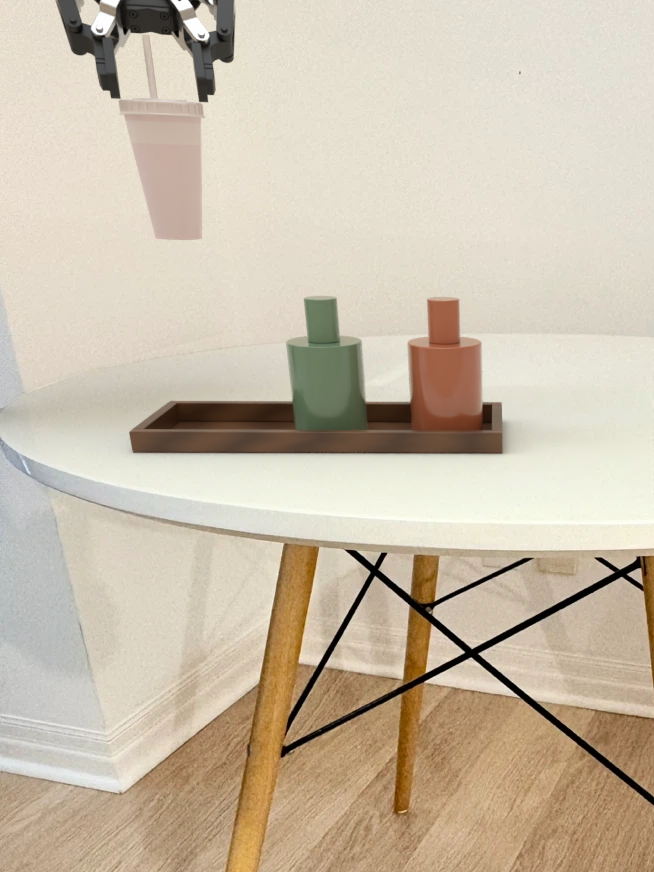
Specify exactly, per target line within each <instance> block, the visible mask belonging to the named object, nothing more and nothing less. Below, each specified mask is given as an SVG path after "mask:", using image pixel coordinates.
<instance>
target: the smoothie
mask: <svg viewBox="0 0 654 872" xmlns="http://www.w3.org/2000/svg"><path fill="white" fill-rule="evenodd" d="M150 37H151V36H150V35H149V34H141V41H142V47H143V48H142V49H143V54H144V62H145V63H144V64H145V70H146V76H147V78H146V79H147V85H148V91H149V98H147V97H145V98H141V97H138V98H136V97H135V98H132V99H129V98H128V99H126V98H125V99H118V109H119V113H118V114H119V115H120V116H124V117H123V118H124V121H125V124H126V129H127V132H128V133H127V134H128V137H129V140H130V144H131V148H132V152H133V156H134V160H135V163H136V167H137V171H138V175H139V179H140V183H141V187H142V190H143V193H144V198H145V202H146V206H147V210H148V214H149V218H150V222H151V227H152V230H153V234H154V237H155V239H159V240H169V241H170V240H171V241H194V240H202V239H203V193H202V192H203V189H202V187H203V184H202V183H203V181H202V180H203V179H202V178H203V177H202V174H203V173H202V167H203V166H202V119H206V116H205V114H204V105H203V103H202V102H191V101H187V100H184V99H168V98H167V99H166V98H165V99H164V98H158V89H157V82H156V75H155V67H154V59H153V53H152V46H151V45H152V44H151V38H150Z"/></svg>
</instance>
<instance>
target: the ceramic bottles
mask: <svg viewBox="0 0 654 872" xmlns="http://www.w3.org/2000/svg"><path fill="white" fill-rule="evenodd" d="M460 303H461V302H460V298H458V297H452V296H433V297H427V298H426V311H427V312H426V313H427V334H428V335H427V336H421V337H416V338H412V339H409V340H408V341H407V342H406V348H407V349H406V350H407V368H408V369H407V370H408V387H409V388H408V389H409V402H410V410H411V430H483V402H484V400H483V399H484V397H483V395H484V393H483V392H484V391H483V389H484V388H483V343H482V342H483V341H481V340H480V339H478V338H474V337H469V336H468V337H467V336H461V310H460V306H461V305H460ZM303 306H304V316H305V326H306V335H305V336H297V337H293V338H289V339H287V340H286V341H285V346H286V356H287V367H288V375H289V385H290V394H291V401H292V404H293V414H294V423H295V430H368V419H367V405H366V402H367V393H366V377H365V366H364V365H365V364H364V349H363V341H362V339H361V338H358V337H356V336H349V335H341V332H340V320H339V319H340V318H339V307H338V306H339V305H338V298H337V297H336V296H333V295H309V296H305V297H303Z"/></svg>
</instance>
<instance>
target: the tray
mask: <svg viewBox="0 0 654 872" xmlns="http://www.w3.org/2000/svg"><path fill="white" fill-rule="evenodd" d="M366 405H367V419H368V430H295V423H294V414H293V404H292V400H290V401H289V400H169V401H168V402H167V403H165V404H164V405H163V406H161V407H160V408H159V409H157V410H156V411H155V412H153V413H152V414H151V415H149V416H148V417H147V418H145V419H143V420H142V421H141V422H139V423H138V424H137V425H135V426H134V427H133V428H131V429H130V430H129V432H128V434H129V439H130V445H131V450H132V454H363V455H364V454H366V455H367V454H369V455H371V454H373V455H375V454H379V455H380V454H386V455H387V454H389V455H390V454H398V455H399V454H400V455H401V454H402V455H403V454H404V455H405V454H406V455H407V454H408V455H409V454H410V455H411V454H412V455H413V454H414V455H415V454H418V455H419V454H420V455H422V454H424V455H428V454H429V455H431V454H432V455H434V454H435V455H436V454H437V455H447V454H448V455H503V403H502V401H483V430H411V410H410V401H366Z"/></svg>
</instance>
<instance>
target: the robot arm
mask: <svg viewBox="0 0 654 872" xmlns="http://www.w3.org/2000/svg"><path fill="white" fill-rule="evenodd" d="M93 1H94V2H95V3H96V4H97V5H98V6H99V8H98V9H99V10H98V13H97V14H96V16H95V18H94V20H93V21H92V24H88V23H84V22H83V21H82V17H81V15H80V13H81V12H82V8H83V6H84V5H85V0H55V4H56V7H57V11H58V14H59V16H60V20H61V23H62V25H63V29H64V32H65V35H66V39H67V41H68V45H69V47H70V50H71V52H72V54H74V55H76V56H86V55H87V54H90V55H91V56H93V57H94V62H95V70H96V75H97V81H98V83H99V87H100V88H101V90H102V91H103V92H109V96H110V99H114V100H122V99H121V89H120V82H119V74H118V66H117V65H118V64H117V59H116V55H117V54H118V53H117V52H118V51H119V49H120V48H124V47H125V45H126V43H127V41H128V39H129V37H130V36H131V34H141V35H142V34H147V33H154V34H157V35H162V36H172V37H173V39H174V40H175V42H176V43H177V44H178V45H179V47H180V48H181V50H182V51H184V52H185V51H186V52H187V53H188V54H189V55H190V57H191V58H192V63H193V71H194V78H195V84H196V85H195V86H196V92H197V98H198V103H209V96H214V95H216V90H217V89H216V88H217V87H216V77H215V70H214V69H215V68H214V62H215V61H218V60H219V61H220V62H222V63H224V64H230V63H232V62H233V61H234V58H235V40H236V39H235V38H236V34H235V33H236V0H93ZM202 4H204V5H205V6H206V7H207V8H208V12H209V14H211V15H212V16H213V20H214V21H215V22H216V23H215V24H216V25H215V30H212V31H208V29H206V27H205V26H204V24H203V23H202V22H201V21H200V19H199V18H198V16H197V14H196V11H197V10H198V9H199V8H200V6H201V5H202Z"/></svg>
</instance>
